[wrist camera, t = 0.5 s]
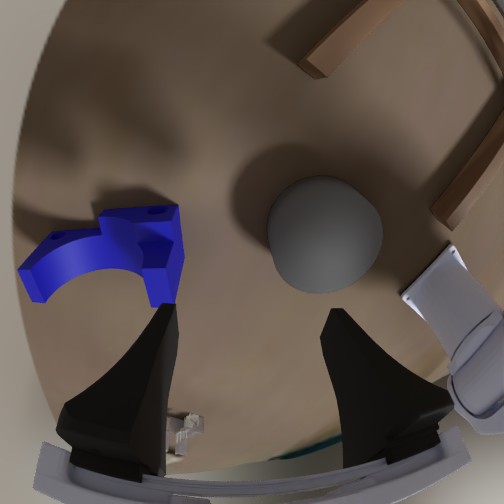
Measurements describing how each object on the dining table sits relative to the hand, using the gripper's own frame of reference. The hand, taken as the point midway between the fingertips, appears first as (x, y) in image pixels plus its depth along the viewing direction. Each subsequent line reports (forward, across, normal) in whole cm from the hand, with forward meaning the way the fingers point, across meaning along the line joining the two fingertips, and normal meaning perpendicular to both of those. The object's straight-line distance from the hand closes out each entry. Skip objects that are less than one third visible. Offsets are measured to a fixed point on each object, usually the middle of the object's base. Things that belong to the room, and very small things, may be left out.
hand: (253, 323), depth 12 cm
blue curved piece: (+10, +11, +1) cm, 15 cm away
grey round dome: (+10, -6, -1) cm, 11 cm away
